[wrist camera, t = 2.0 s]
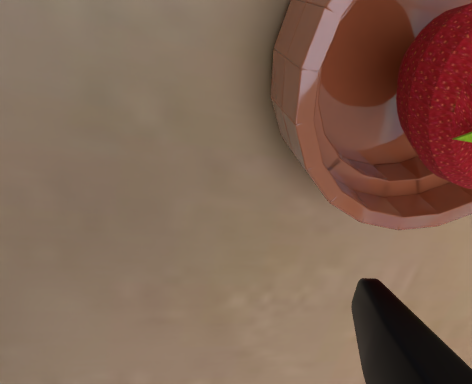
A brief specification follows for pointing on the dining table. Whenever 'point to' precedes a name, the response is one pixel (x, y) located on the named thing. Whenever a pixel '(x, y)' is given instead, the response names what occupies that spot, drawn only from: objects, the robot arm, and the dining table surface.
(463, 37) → the strawberry
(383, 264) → the dining table surface
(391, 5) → the pot
